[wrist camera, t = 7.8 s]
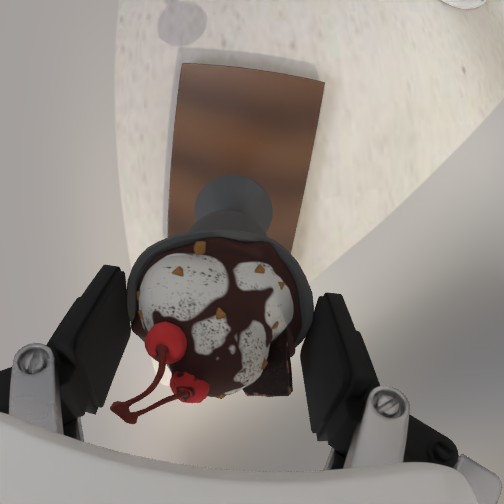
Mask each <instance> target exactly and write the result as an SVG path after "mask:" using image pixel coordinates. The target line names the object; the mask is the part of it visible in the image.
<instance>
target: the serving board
mask: <svg viewBox="0 0 504 504" xmlns="http://www.w3.org/2000/svg"><path fill="white" fill-rule="evenodd" d="M324 84H325V82H321V81H317V80H312V79H308V78H303V77H298V76H293V75H287V74H281V73H275V72H269V71H263V70H255V69H248V68H240V67H231V66H220V65H208V64H192V63H182V67H181V74H180V81H179V89H178V97H177V106H176V115H175V125H174V135H173V146H172V159H171V173H170V189H169V209H168V238H169V237H171V236H173V235H176V234H182V233H186V232H187V231H188V229H189V228H190V227H191V226H192V225H193V224H195V223H196V220H195V216H194V206H195V201H196V198H197V195H198V194H199V192H200V191H201V189H202V188H203V187H204V186H205V185H206V184H207V183H209V182H210V181H211V180H213V179H215V178H217V177H219V176H224V175H233V174H236V175H241V176H245V177H248V178H251V179H253V180H254V181H256V182H257V183H258V184H260V185H261V186H262V187H263V188H264V189H265V191H266V192H267V194H268V195H269V197H270V199H271V203H272V208H273V217H272V221H271V224H270V226H269V229H268V230H267V232H266V235H267V236H268V238H271V239H273V240H275V241H276V242H278V243H279V244H280V245H282V246H283V247H285V248H286V250H287V251H288V252H289V253H290V254H291V249H292V245H293V240H294V236H295V231H296V227H297V222H298V218H299V213H300V208H301V204H302V199H303V194H304V189H305V185H306V180H307V175H308V170H309V165H310V160H311V155H312V150H313V145H314V139H315V134H316V129H317V123H318V118H319V113H320V107H321V102H322V96H323V90H324Z"/></svg>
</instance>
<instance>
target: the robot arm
mask: <svg viewBox="0 0 504 504" xmlns="http://www.w3.org/2000/svg"><path fill="white" fill-rule="evenodd" d="M442 1H443V2H445V3H447V4H449V5H451V6H454V7H457V8H461V9H472V8H477V7H479V6H481V5H483V4H484V3H485V1H486V0H442ZM130 333H131V326H130V318H129V316H128V309H127V290H126V279H125V273H124V272H123V271H121V269H120V267H117V266H110V265H103V267H102V268H101V269H100V271H99V272H98V273H97V275H96V276H95V278H94V279H93V280H92V282H91V283H90V285H89V286H88V287H87V289H86V290H85V292H84V293H83V295H82V296H81V297H78V298H77V299H76V301H75V302H74V303H73V305H72V306H71V308H70V309H69V311H68V312H67V314H66V315H65V317H64V318H63V320H62V322H61V323H60V325H59V326H58V328H57V329H56V331H55V332H54V334H53V335H52V337H51V339H50V340H49V342H48V343H47V345H44V344H41V343H33V344H28V345H26V346H24V347H22V348H21V349H20V350H18V352H17V353H16V354H15V356H14V360H13V365H12V367H11V368H7V369H5V370H2V371H0V504H497V502H498V500H499V497H500V494H501V490H502V484H501V481H500V479H499V477H498V476H497V475H496V474H495V473H493V472H491V471H490V470H488V469H486V468H485V467H483V466H481V465H480V464H478V463H477V462H475V461H473V460H472V459H470V458H469V457H467V456H465V455H464V454H462V455H461V456H459V455H458V450H457V448H456V445H455V444H454V443H453V442H452V441H451V440H450V439H449V438H448V437H446V436H444V435H442V434H441V433H439V432H437V431H436V430H434V429H432V428H431V427H429V426H427V425H426V424H424V423H423V422H421V421H419V420H418V419H416V418H414V417H413V416H411V415H410V405H409V402H408V399H407V398H406V396H405V395H404V394H403V393H402V392H401V391H399V390H398V389H396V388H393V387H390V386H380V384H379V381H378V379H377V376H376V373H375V370H374V368H373V365H372V362H371V360H370V357H369V354H368V351H367V349H366V346H365V343H364V341H363V338H362V336H361V334H360V332H359V331H356V330H355V327H354V324H353V322H352V319H351V317H350V314H349V312H348V309H347V307H346V304H345V302H344V299H343V296H342V295H341V294H335V293H325V294H324V296H320V297H319V298H318V301H317V304H316V307H315V310H314V313H313V320H312V323H311V326H310V328H309V330H308V333H307V335H306V337H305V340H304V343H303V345H302V349H301V354H300V358H301V365H302V372H303V378H304V384H305V391H306V397H307V404H308V410H309V417H310V424H311V430H312V432H313V433H316V434H317V441H328V445H330V446H331V447H332V448H331V451H330V454H329V457H328V459H327V462H326V465H325V468H324V470H320V471H298V472H297V471H296V472H266V471H241V470H227V469H216V468H206V467H198V466H190V465H183V464H177V463H171V462H165V461H159V460H154V459H149V458H144V457H140V456H135V455H130V454H126V453H122V452H118V451H114V450H111V449H107V448H103V447H100V446H96V445H93V444H90V443H86V442H84V438H83V431H82V425H81V416H83V415H84V414H85V412H88V413H92V414H96V412H97V409H98V407H103V405H104V403H105V400H106V397H107V394H108V391H109V389H110V386H111V383H112V381H113V378H114V376H115V373H116V370H117V368H118V365H119V363H120V360H121V358H122V355H123V353H124V350H125V348H126V345H127V342H128V340H129V338H130Z"/></svg>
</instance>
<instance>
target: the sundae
mask: <svg viewBox="0 0 504 504" xmlns="http://www.w3.org/2000/svg"><path fill="white" fill-rule="evenodd" d="M194 216H195V220H196V223H195V224H193V225H192V226H191V227H190V228H189V229H188V231H187V232H186V233H182V234H176V235H173V236H171V237H169V238H166V239H164V240H161V241H159V242H157V243H155V244H153V245H152V246H150V247H148V248H147V249H146V250H145V251H144V252H143V253H142V254H141V255H140V256H139V257H138V259H137V261H136V262H135V264H134V266H133V267H132V270H131V273H130V276H129V279H128V283H127V309H128V316H129V318H130V321H131V329H132V331H133V332H134V333H135V334H136V335H138V336H139V337H140V338H141V339H142V340H143V341H144V342H145V348H146V350H147V352H148V354H149V355H150V356H151V357H152V358H154V359H155V360H156V361H158V362H159V368H158V372H157V375H156V377H155V379H154V381H153V383H152V384H151V385H150V386H149V387H148V388H147V390H146V391H144V392H143V393H142V394H140V395H138V396H136V397H135V398H133V399H130V400H128V401H126V402H119V401H117V402H114V403H113V404H112V406H111V407H110V410H111V411H112V412H114V413H115V414H117V415H118V416H119V417H120V418H122V419H123V420H124V421H125V422H126V423H129V424H135V423H136V422H137V418H138V416H140V415H142V414H144V413H146V412H148V411H150V410H152V409H154V408H157V407H158V406H160V405H163V404H165V403H167V402H170V401H173V400H175V399H179V400H180V401H182V402H186V403H200V402H202V401H203V400H204V399H205V398H206V397H207V396H210V397H217V398H220V399H222V398H224V397H225V396H226V395H230V394H233V393H236V392H238V391H239V390H241V389H243V391H244V392H245V394H246V395H247V396H266V397H273V396H289V395H290V394H291V392H292V391H293V388H292V371H291V362H290V357H292V356H293V355H294V354H295V347H297V345H299V344H300V343H301V342H302V341H303V339H304V338H305V336H306V335H307V333H308V330H309V328H310V326H311V323H312V320H313V313H314V305H313V296H312V291H311V289H310V286H309V284H308V281H307V279H306V276H305V274H304V273H303V271H302V269H301V267H300V265H299V264H298V262H297V261H296V260H295V258H294V257H293V256H292V255H291V254H290V253H289V252H288V251H287V250H286V248H285V247H283V246H282V245H280V244H279V243H278V242H276V241H275V240H273V239H271V238H268V236H267V235H266V232H267V230H268V229H269V226H270V224H271V221H272V217H273V208H272V203H271V199H270V197H269V195H268V194H267V192H266V191H265V189H264V188H263V187H262V186H261V185H260V184H258V183H257V182H256V181H254V180H253V179H251V178H248V177H245V176H241V175H236V174H233V175H224V176H219V177H217V178H215V179H213V180H211V181H210V182H209V183H207V184H206V185H205V186H204V187H203V188H202V189H201V191H200V192H199V194H198V195H197V198H196V201H195V206H194ZM166 364H167V366H168V368H169V369H170V371H171V373H172V377H171V380H170V387H171V389H172V391H173V393H174V395H172V396H169V397H166V398H164V399H162V400H160V401H158V402H156V403H155V404H153V405H151V406H149V407H147V408H146V409H143V410H140V411H137V412H130V411H129V406H131V405H132V404H134V403H135V402H137V401H139V400H141V399H143V398H144V397H146V396H147V395H148V394H150V393H151V392H152V391H153V390H154V389H155V388H156V386H157V385H158V383H159V382H160V380H161V378H162V376H163V374H164V372H165V366H166Z"/></svg>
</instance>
